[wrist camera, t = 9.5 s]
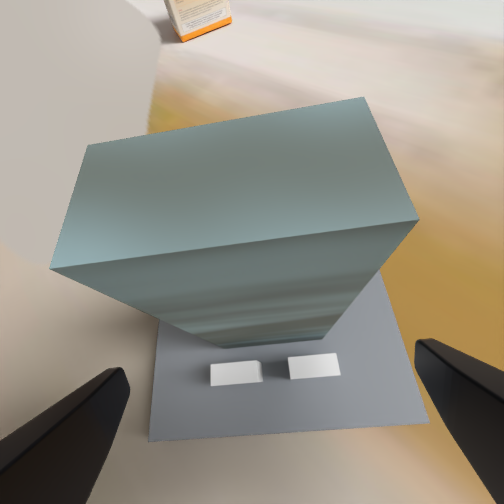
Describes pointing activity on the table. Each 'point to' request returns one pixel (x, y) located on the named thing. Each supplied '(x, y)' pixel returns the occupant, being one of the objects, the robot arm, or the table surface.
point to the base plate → (288, 379)
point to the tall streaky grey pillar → (239, 222)
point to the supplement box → (197, 16)
